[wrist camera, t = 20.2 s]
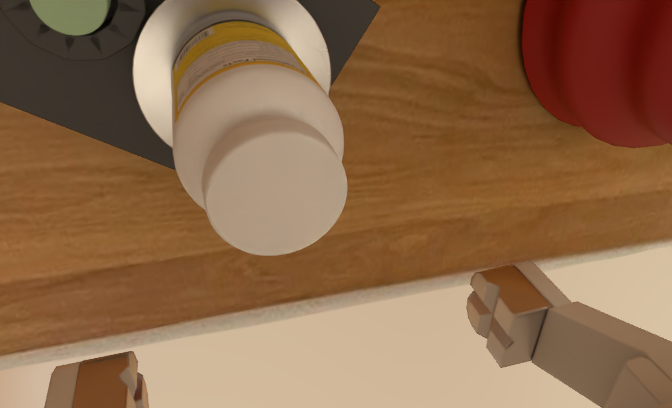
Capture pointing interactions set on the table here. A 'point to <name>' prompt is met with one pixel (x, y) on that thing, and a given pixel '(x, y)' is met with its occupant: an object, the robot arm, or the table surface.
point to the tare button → (72, 14)
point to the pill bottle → (256, 138)
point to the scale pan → (193, 14)
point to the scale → (120, 68)
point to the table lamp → (603, 66)
